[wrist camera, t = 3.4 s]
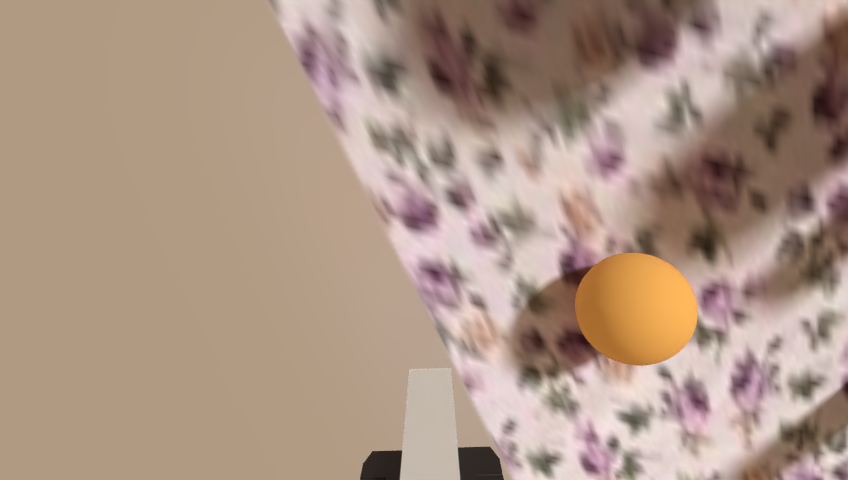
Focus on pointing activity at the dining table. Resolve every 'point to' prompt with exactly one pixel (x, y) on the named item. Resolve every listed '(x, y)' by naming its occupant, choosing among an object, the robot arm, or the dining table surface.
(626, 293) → the ball
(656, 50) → the dining table surface
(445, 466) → the robot arm
